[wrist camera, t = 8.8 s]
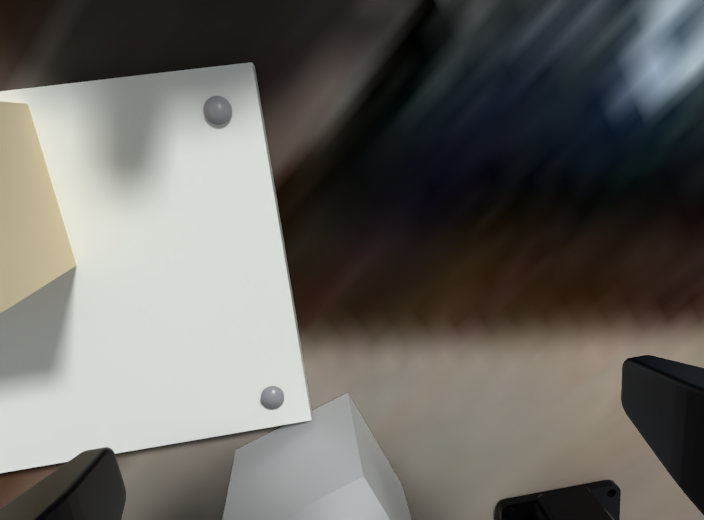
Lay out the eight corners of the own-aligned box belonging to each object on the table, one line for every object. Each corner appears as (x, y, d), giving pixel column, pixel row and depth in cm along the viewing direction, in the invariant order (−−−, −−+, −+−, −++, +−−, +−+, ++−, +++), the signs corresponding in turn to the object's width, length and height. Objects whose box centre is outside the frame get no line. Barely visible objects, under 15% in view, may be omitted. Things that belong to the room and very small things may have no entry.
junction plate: (310, 405, 23) (314, 487, 18) (-92, 473, 21) (-216, 583, 16) (255, 66, 19) (238, 42, 13) (-249, 124, 17) (-482, 124, 12)
